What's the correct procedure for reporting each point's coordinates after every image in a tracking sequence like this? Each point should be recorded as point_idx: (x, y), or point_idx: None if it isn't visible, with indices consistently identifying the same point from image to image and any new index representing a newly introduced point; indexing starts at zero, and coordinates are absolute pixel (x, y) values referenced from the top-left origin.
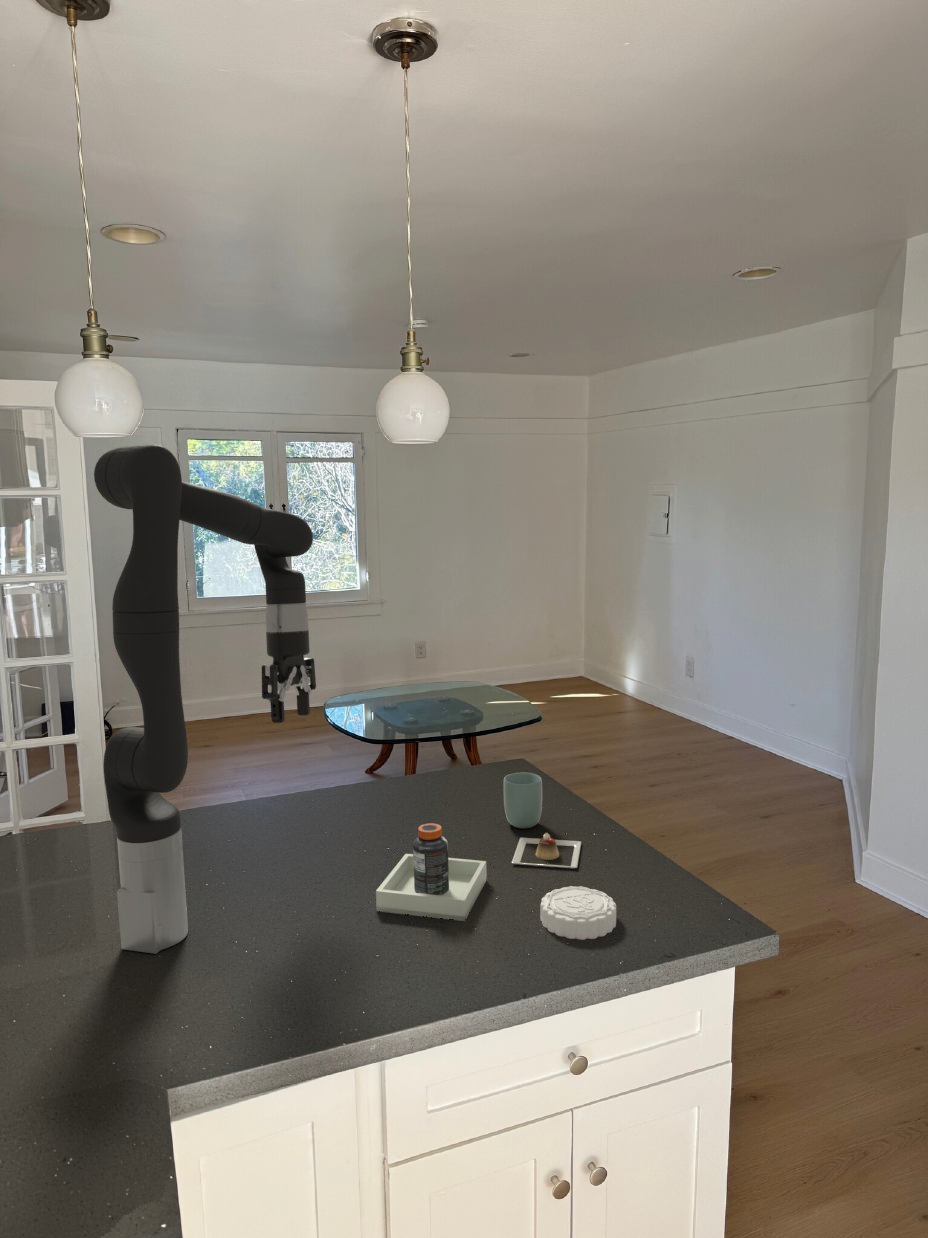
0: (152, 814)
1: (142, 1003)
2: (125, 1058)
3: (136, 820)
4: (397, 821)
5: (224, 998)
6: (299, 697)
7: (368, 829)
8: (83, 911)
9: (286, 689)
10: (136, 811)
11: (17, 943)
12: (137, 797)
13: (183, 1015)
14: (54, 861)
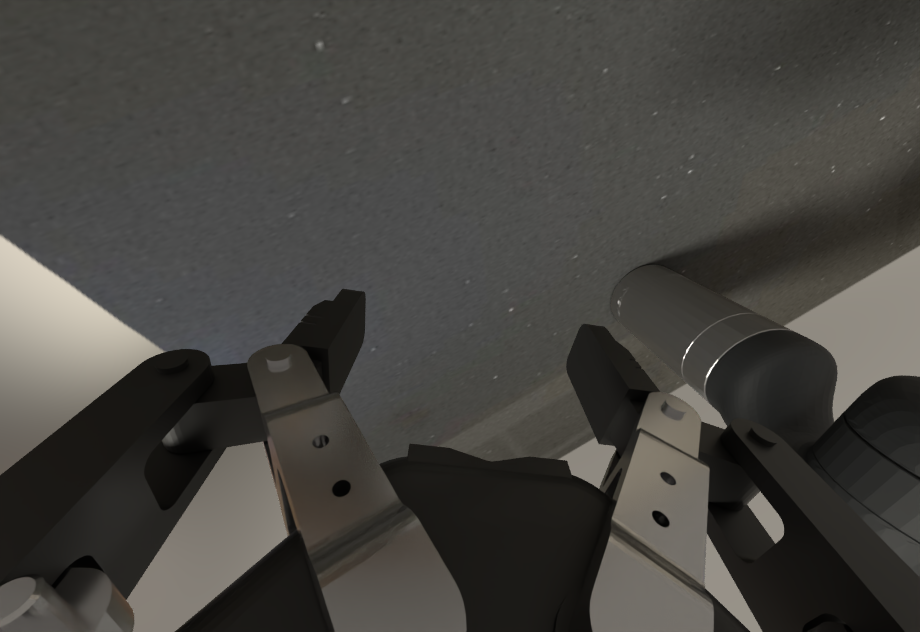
0: (823, 379)
1: (774, 238)
2: (865, 202)
3: (834, 389)
4: (167, 67)
5: (792, 148)
6: (336, 387)
7: (243, 129)
8: None
9: (662, 440)
10: (828, 404)
11: None
12: (815, 428)
13: (811, 181)
14: None
